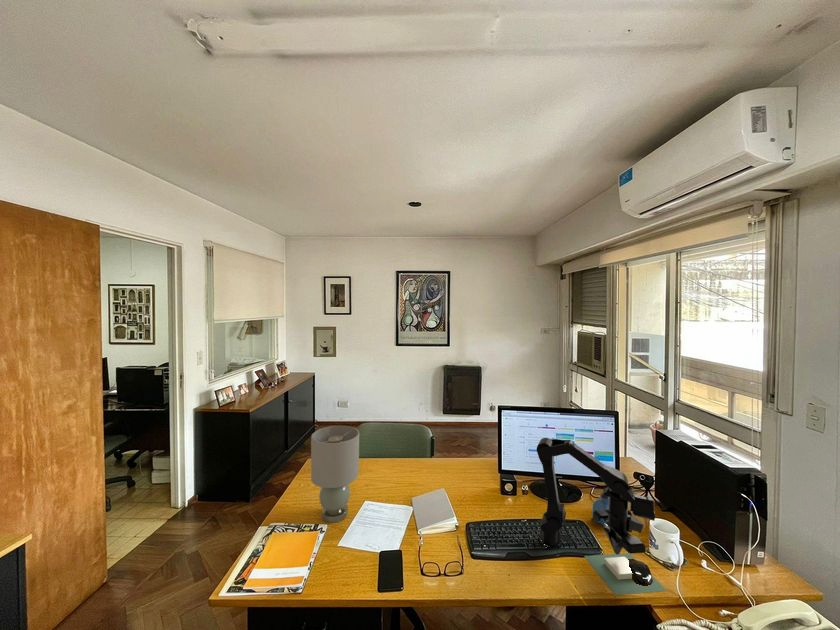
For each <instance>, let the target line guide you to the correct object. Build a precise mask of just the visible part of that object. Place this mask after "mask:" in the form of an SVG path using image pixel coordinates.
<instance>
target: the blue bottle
mask: <svg viewBox="0 0 840 630" xmlns="http://www.w3.org/2000/svg"><path fill="white" fill-rule="evenodd" d="M606 509H609V497H608V496H604V495H603V491H601V492H600V496H599V499H596V500H595V501H594V502H593V504H592V513H593V512H594V511H595V510H606ZM592 519H593V520H594V521H595V522H597V521H596V520H595V519H594V518H593V517H592ZM597 524H600V525H601V526H602V527H603V528H605V521H604V520H603V519H601V521H600V522H597Z"/></svg>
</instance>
